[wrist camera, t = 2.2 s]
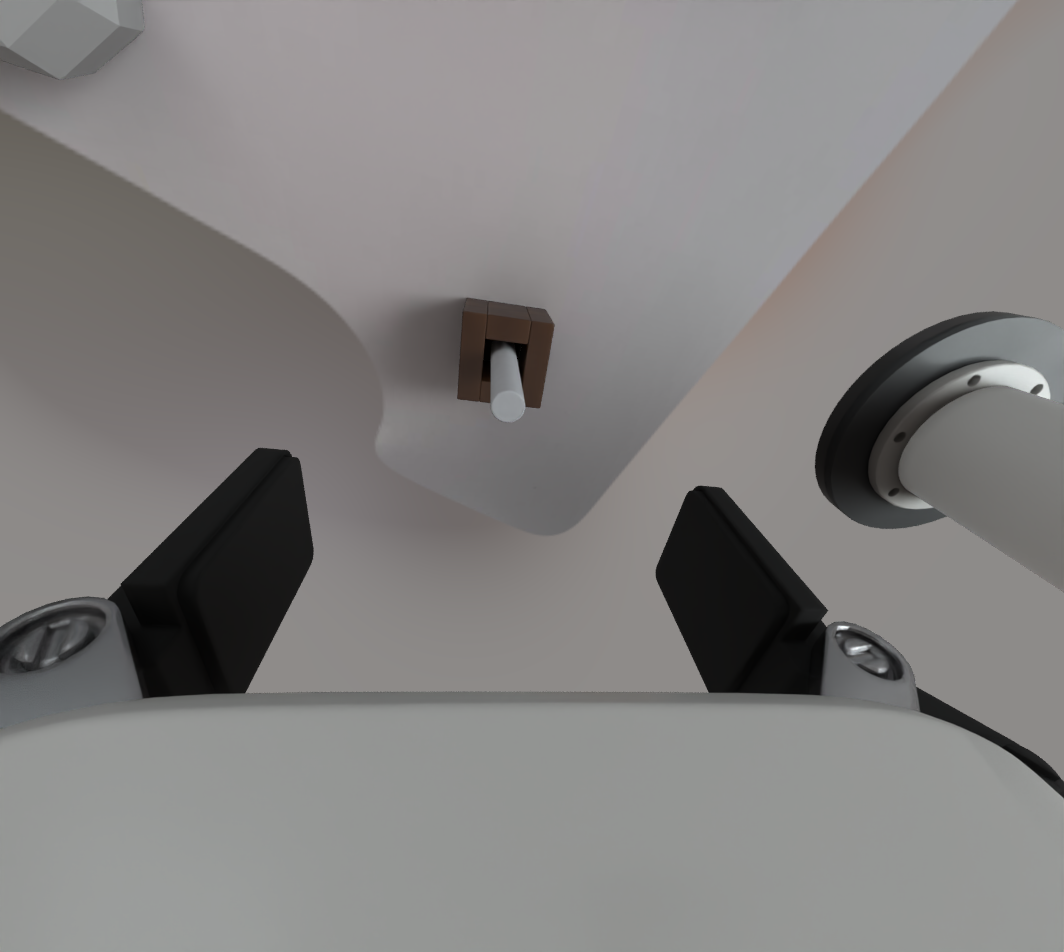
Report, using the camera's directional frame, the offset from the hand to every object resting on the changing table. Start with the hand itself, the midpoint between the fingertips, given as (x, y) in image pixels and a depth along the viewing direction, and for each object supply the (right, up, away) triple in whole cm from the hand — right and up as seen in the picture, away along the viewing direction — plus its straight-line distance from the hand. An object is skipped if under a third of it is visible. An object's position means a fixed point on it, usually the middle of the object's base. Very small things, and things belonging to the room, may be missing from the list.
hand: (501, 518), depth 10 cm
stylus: (-1, +9, +15) cm, 17 cm away
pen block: (-1, +9, +15) cm, 17 cm away
